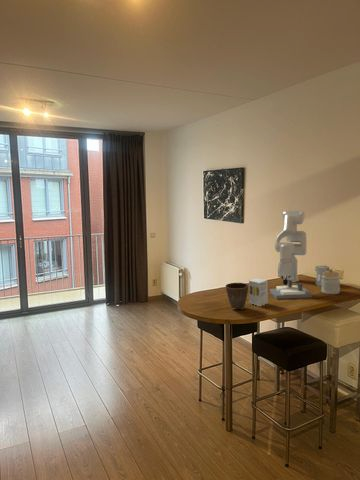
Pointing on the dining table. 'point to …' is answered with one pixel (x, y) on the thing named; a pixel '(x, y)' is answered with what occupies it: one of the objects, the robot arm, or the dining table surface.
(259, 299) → the supplement box
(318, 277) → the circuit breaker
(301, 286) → the breaker handle
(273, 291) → the breaker panel
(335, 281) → the jar
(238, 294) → the plant pot
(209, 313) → the dining table surface
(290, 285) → the breaker handle
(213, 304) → the dining table surface
